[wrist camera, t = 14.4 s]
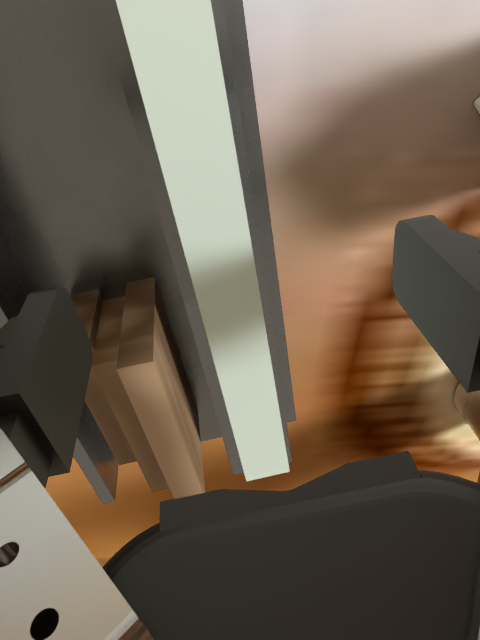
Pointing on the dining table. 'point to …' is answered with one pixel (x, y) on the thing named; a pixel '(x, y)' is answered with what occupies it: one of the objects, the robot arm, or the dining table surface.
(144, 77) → the tall sheet
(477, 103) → the supplement box
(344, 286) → the dining table surface
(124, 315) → the offcut bundle
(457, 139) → the dining table surface
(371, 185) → the dining table surface
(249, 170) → the rack
